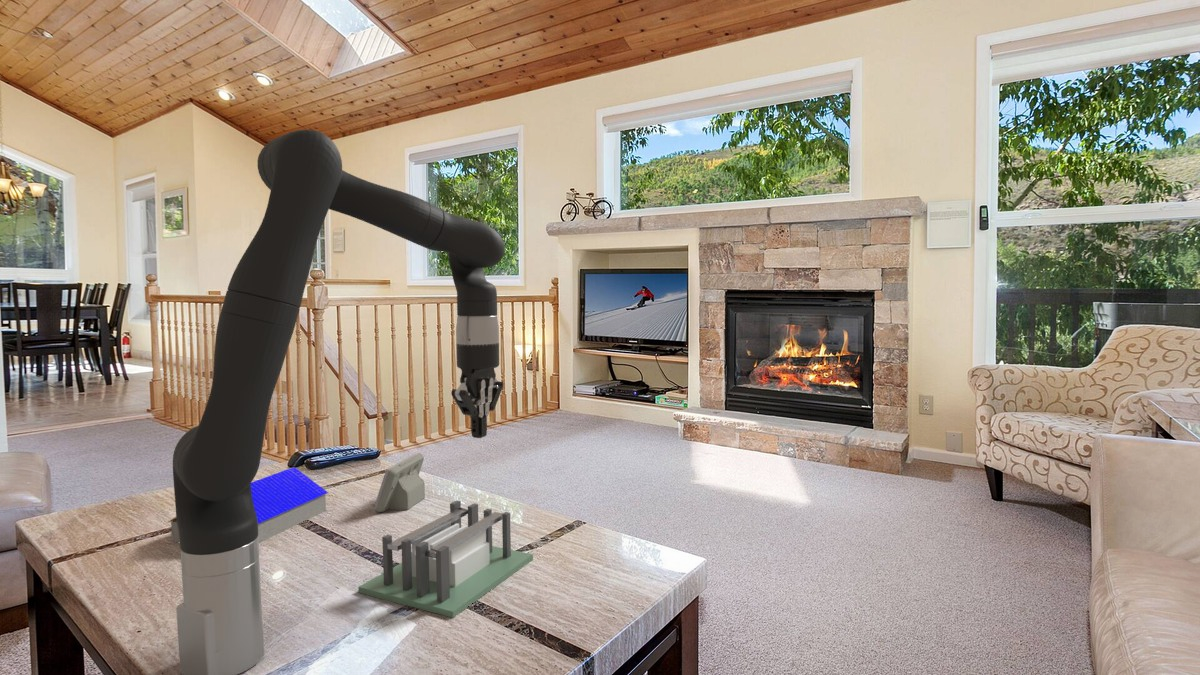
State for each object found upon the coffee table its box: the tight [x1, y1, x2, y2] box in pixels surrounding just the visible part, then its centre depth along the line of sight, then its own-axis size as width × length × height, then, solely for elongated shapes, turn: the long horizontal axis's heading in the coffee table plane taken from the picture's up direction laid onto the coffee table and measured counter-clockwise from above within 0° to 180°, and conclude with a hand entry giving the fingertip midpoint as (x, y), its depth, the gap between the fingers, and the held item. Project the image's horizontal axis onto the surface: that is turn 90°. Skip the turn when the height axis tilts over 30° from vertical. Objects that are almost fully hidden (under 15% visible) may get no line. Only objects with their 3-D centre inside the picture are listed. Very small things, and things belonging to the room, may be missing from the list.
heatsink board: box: [357, 500, 534, 619], centre depth 117 cm, size 24×20×10 cm
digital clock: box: [374, 452, 426, 513], centre depth 155 cm, size 16×9×11 cm, turn 157°
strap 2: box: [425, 511, 504, 558], centre depth 115 cm, size 20×2×1 cm, turn 155°
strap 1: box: [387, 507, 468, 552], centre depth 118 cm, size 20×2×1 cm, turn 155°
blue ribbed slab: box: [167, 466, 329, 544], centre depth 141 cm, size 19×25×10 cm
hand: (479, 436), depth 117 cm, fingers closed
